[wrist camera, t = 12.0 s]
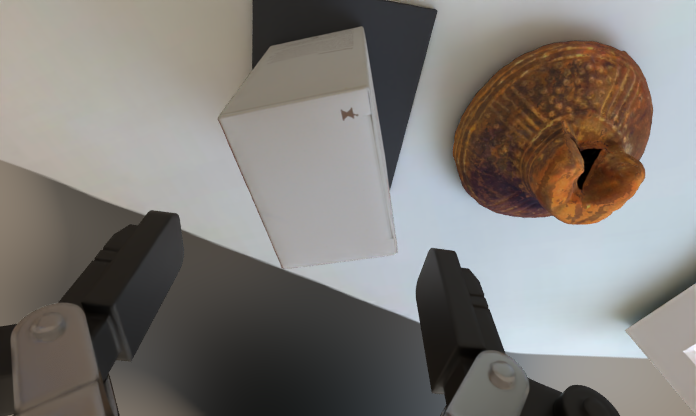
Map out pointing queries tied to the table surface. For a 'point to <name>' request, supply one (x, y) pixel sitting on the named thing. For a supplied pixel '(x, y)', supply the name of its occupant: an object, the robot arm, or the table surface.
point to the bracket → (672, 342)
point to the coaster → (382, 44)
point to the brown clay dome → (557, 134)
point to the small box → (314, 151)
